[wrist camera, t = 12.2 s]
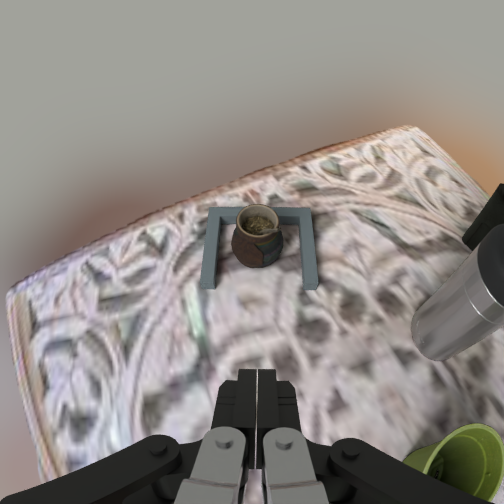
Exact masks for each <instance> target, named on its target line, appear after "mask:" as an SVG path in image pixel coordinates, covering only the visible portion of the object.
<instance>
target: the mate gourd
mask: <svg viewBox="0 0 504 504" xmlns="http://www.w3.org/2000/svg"><path fill="white" fill-rule="evenodd" d="M280 229H281V228H279V217H278V215H277V213H276V212H275V210H274V211H273V210H272V209H271V208H270V207H268V206H266V205H262V204H253V205H249V206H246V207H244V208H243V209H242V210H241V211H240V212H239V213H238V215H237V217H236V228H235V230H234V233H233V237H232V242H231V246H232V250H233V252H234V254H235V256H236V257H237V259H238V260H239V261H240V262H241V263H242V264H243V265H245V266H247V267H250V268H263V267H266V266H269V265H271V264H272V263H273V262H274V261H275V260H276V259H277V258H278V256H279V255H280V253H281V251H282V248H283V236H282V232H281V230H280Z"/></svg>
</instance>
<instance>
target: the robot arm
mask: <svg viewBox="0 0 504 504" xmlns="http://www.w3.org/2000/svg"><path fill="white" fill-rule="evenodd" d="M502 326H504V224H500V225H497V226H496V227H494V228H493V229H492V230H491V231H490V232H489V233H488V234H487V235H486V236H485V237H484V239H483V240H482V241H481V242H480V244H479V245H478V246H477V247H476V248H475V249H474V251H473V252H472V253H471V254H470V255H469V256H468V258H467V259H466V260H465V261H464V262H463V263H462V264H461V265H460V267H459V268H458V269H457V270H456V271H455V272H454V273H453V274H452V275H451V276H450V277H449V278H448V280H447V281H446V282H445V283H444V284H443V285H442V286H441V287H440V288H439V289H438V290H437V291H436V292H435V293H434V294H433V295H432V296H431V297H430V298H429V299H428V300H427V301H426V302H425V303H424V304H423V305H422V306H421V307H420V308H419V309H418V310H417V311H416V313H415V314H414V317H413V320H412V326H411V330H412V337H413V340H414V343H415V345H416V347H417V348H418V349H419V351H420V352H421V353H422V354H423V355H424V356H426V357H427V358H429V359H431V360H434V361H443V360H447V359H449V358H451V357H453V356H454V355H456V354H458V353H460V352H462V351H464V350H465V349H467V348H469V347H470V346H472V345H474V344H476V343H477V342H479V341H480V340H482V339H484V338H485V337H487V336H489V335H490V334H492V333H493V332H495V331H496V330H498V329H499V328H501V327H502ZM256 381H257V369H239V372H238V381H233V380H226V381H225V382H224V383H223V384H222V385H221V386H220V387H219V391H218V397H217V401H216V406H215V411H214V416H213V421H212V426H211V430H210V431H208V432H207V433H206V434H205V435H204V438H203V439H202V440H199V441H197V442H193V443H186V444H178V442H177V441H176V440H175V439H173V438H172V437H170V436H166V435H152V436H149V437H146V438H144V439H142V440H141V441H139V442H137V443H135V444H133V445H131V446H129V447H127V448H125V449H123V450H121V451H118V452H116V453H114V454H112V455H110V456H108V457H106V458H104V459H101V460H99V461H97V462H95V463H93V464H90V465H88V466H86V467H84V468H81V469H79V470H77V471H74V472H72V473H69V474H67V475H64V476H62V477H59V478H57V479H54V480H52V481H49V482H46V483H44V484H41V485H38V486H36V487H33V488H30V489H28V490H24V491H21V492H18V493H15V494H12V495H9V496H6V497H5V498H3V499H2V500H1V501H0V504H244V498H245V492H246V484H247V481H248V473H249V469H254V465H255V432H256ZM256 469H262V483H261V488H262V498H263V504H494V503H491V502H489V501H486V500H483V499H481V498H478V497H476V496H473V495H471V494H469V493H466V492H464V491H461V490H459V489H457V488H455V487H452V486H450V485H448V484H446V483H443V482H441V481H439V480H437V479H435V478H433V477H431V476H428V475H426V474H424V473H422V472H420V471H418V470H416V469H414V468H412V467H410V466H408V465H406V464H404V463H402V462H401V461H399V460H397V459H395V458H393V457H391V456H389V455H387V454H386V453H384V452H382V451H380V450H378V449H376V448H375V447H373V446H371V445H369V444H368V443H366V442H364V441H362V440H359V439H355V438H345V439H341V440H338V441H337V442H335V443H334V444H333V445H332V446H326V445H320V444H316V443H313V442H311V441H309V440H308V439H306V438H305V437H304V435H303V434H302V432H301V427H300V420H299V413H298V406H297V399H296V393H295V388H294V387H293V385H292V384H291V383H290V382H289V381H277V379H276V369H258V402H257V454H256Z"/></svg>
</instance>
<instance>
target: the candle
mask: <svg viewBox="0 0 504 504" xmlns="http://www.w3.org/2000/svg"><path fill="white" fill-rule="evenodd" d="M500 224H504V184H499V186H498V188H497V189H496V191H495V192H494V194H493V195H492V197H491V198H490V199H489V201H488V202H487V204H486V205H485V207H484V208H483V210H482V211H481V212H480V214H479V215H478V217H477V218H476V219H475V221H474V222H473V223H472V225H471V226H470V228H469V229H468V230H467V232H466V233H465V234H464V236H463V237H462V240H463V242H464V244H466V245H467V246H468V247H469V248H470V249H471V250H472V251H474V249H475V248H476V247H477V246H478V245H479V244H480V242H481V241H482V240H483V239H484V237H485V236H486V235H487V234H488V233H489V232H490V231H491V230H492V229H493V228H494V227H496V226H497V225H500Z"/></svg>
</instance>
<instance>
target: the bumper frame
mask: <svg viewBox="0 0 504 504" xmlns="http://www.w3.org/2000/svg"><path fill="white" fill-rule="evenodd" d="M243 208H244V207H209V214H208V221H207V229H206V236H205V244H204V252H203V261H202V269H201V278H200V284H201V287H202V289H215V284H216V272H217V261H218V250H219V239H220V229H221V224H236V217H237V215H238V213H239V212H240V211H241V210H242V209H243ZM270 208H271V209H272V210H273V211H274V210H275V212H276V213H277V215H278V217H279V224H294V225H298V226H299V238H300V250H301V264H302V278H303V290H316V288H317V286H318V274H317V264H316V254H315V245H314V236H313V227H312V219H311V210H310V208H291V207H270Z"/></svg>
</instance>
